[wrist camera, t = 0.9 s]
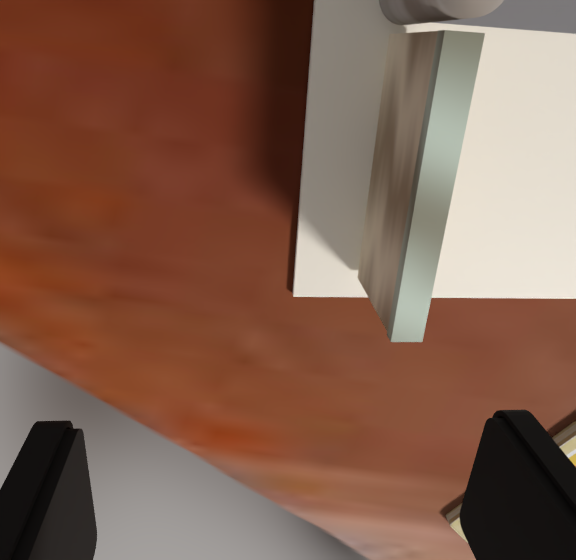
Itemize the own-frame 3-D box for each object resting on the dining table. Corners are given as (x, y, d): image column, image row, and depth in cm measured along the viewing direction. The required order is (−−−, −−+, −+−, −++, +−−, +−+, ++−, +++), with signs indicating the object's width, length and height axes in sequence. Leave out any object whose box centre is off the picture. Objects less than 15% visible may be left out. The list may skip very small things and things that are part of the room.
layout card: (891, -440, 18) (907, -452, 18) (615, 295, 31) (620, 299, 30) (355, -560, 16) (358, -578, 15) (292, 293, 28) (293, 297, 28)
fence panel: (387, 33, 22) (445, 30, 16) (417, 36, 23) (484, 33, 17) (355, 277, 27) (390, 342, 21) (380, 277, 28) (422, 341, 22)
